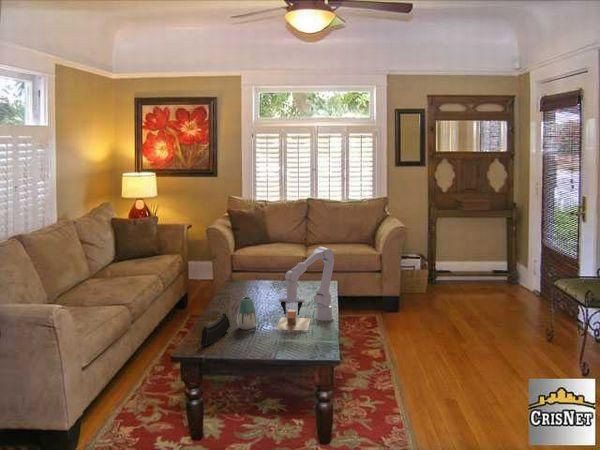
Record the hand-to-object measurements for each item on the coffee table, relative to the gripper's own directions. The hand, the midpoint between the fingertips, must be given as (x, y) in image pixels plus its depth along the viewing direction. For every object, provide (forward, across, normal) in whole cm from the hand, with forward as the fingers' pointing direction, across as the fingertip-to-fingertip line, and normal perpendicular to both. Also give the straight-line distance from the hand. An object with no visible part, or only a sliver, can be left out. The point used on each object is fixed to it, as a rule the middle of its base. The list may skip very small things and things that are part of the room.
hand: (291, 314), depth 354 cm
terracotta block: (+2, 0, 0) cm, 2 cm away
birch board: (+7, +1, +1) cm, 7 cm away
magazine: (+7, -38, -28) cm, 48 cm away
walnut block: (+6, 0, 0) cm, 6 cm away
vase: (+7, -25, -7) cm, 27 cm away
